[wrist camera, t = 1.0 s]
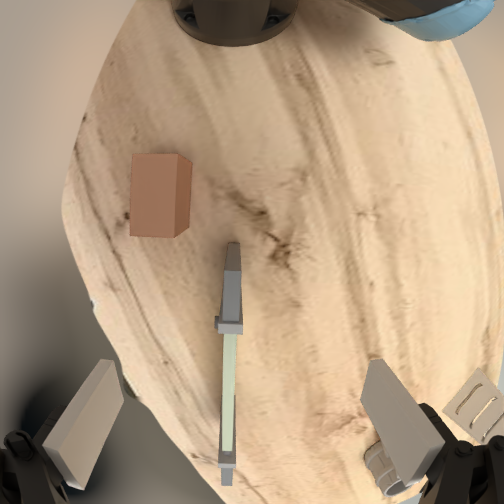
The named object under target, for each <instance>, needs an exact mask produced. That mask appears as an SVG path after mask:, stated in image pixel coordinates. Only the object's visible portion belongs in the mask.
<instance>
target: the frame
mask: <svg viewBox="0 0 504 504" xmlns="http://www.w3.org/2000/svg"><path fill="white" fill-rule="evenodd" d="M218 334H241V335H243V314H242V295H241V256H240V243H229V244H228V250H227V256H226V262H225V269H224V284H223V292H222V299H221V306H220V314H219V321H218ZM222 399H223V395H222V398H221V415H220V434H219V455H218V468H221V484H222V486H232V476H233V468H236V429H235V395H234V414H233V443H232V451H231V455H228V456H227V455H224V454H223V451H222Z"/></svg>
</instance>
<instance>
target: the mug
mask: <svg viewBox="0 0 504 504" xmlns="http://www.w3.org/2000/svg"><path fill="white" fill-rule="evenodd" d="M365 465H366V467H367V468H368V469H369V470H371V472H372V474H373V476H374V478H375V483H376V485H377V486H378V487H379V488H380V489H381V491H382V493H383V495H384V496H386V497H393V496H396V495H398V494H400V493H402V492H405V491H406V490H407V489H409V488H411V487H412V486H413V485H414V484H413V485H410V486H407V487H405V485H404V483H403V481H402V479H401V477H400V476H399V474H398V472H397V470H396V468H395V466H394V464H393V462H392V460H391V458H390V456H389V454H388V452H387V450H386V448H385V446H384V444H383V442H382V441H379V442H377V443H376V444H374V446H372V447H371V448H370V449H368V451H367V452H366V454H365Z"/></svg>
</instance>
